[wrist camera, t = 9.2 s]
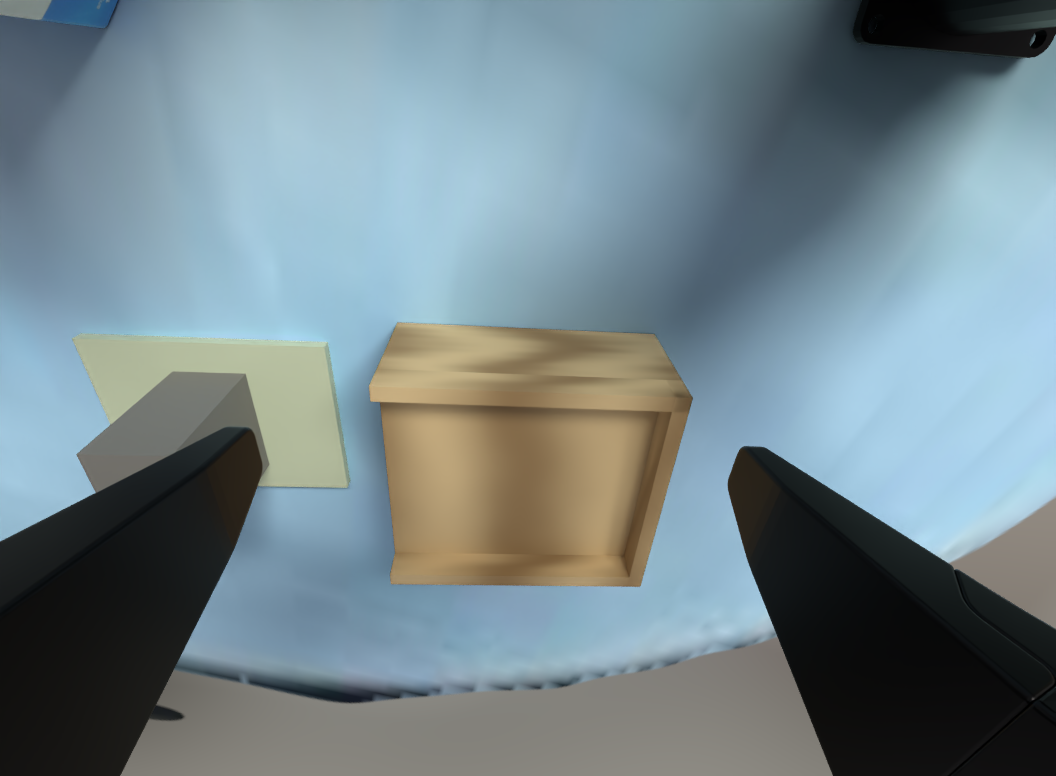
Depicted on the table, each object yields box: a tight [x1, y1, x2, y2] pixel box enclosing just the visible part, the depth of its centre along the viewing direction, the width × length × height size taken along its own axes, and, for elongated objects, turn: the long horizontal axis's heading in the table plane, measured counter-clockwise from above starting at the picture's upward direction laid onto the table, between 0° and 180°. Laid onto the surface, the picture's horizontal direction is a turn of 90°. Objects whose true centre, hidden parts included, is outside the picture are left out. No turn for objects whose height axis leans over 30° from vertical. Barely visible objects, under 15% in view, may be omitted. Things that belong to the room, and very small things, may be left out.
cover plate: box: [72, 333, 350, 493], centre depth 21 cm, size 10×8×6 cm
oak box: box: [369, 323, 693, 587], centre depth 22 cm, size 11×10×5 cm
